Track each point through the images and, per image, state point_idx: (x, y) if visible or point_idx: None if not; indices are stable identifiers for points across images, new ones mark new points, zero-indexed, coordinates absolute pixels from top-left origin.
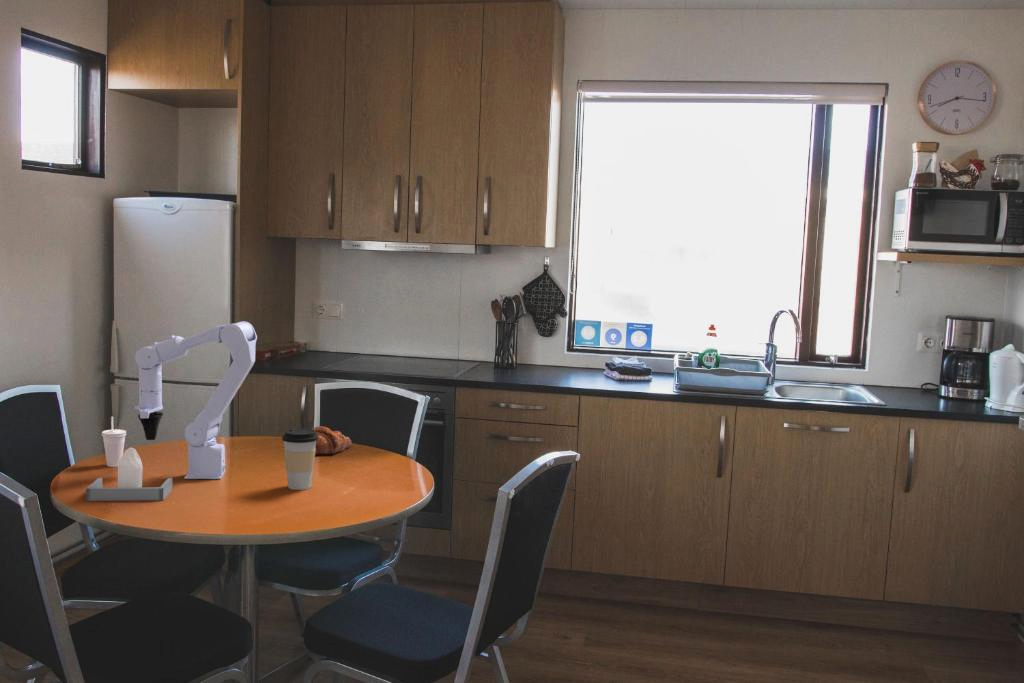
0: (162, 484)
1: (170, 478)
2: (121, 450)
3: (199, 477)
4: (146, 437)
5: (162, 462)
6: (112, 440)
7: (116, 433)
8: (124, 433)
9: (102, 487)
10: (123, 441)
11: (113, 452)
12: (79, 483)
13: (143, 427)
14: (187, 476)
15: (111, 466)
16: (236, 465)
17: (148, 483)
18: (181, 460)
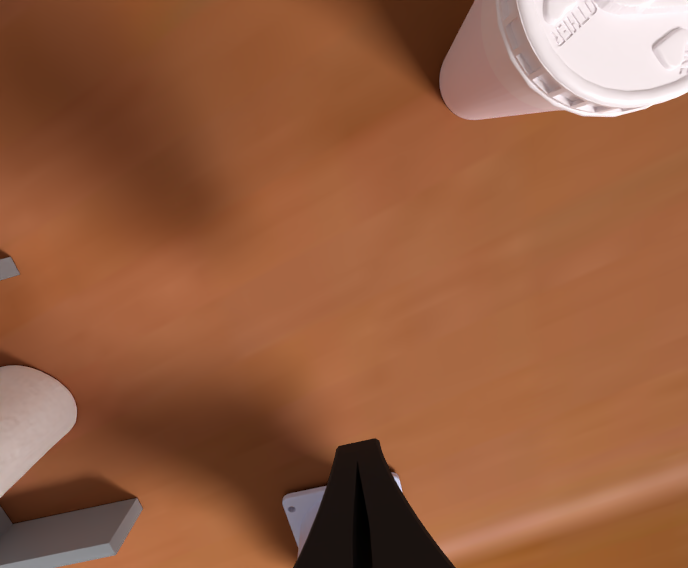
0: (9, 563)
1: (106, 552)
2: (508, 112)
3: (296, 542)
4: (333, 465)
5: (557, 295)
6: (495, 29)
7: (566, 32)
8: (608, 110)
9: (9, 277)
10: (562, 109)
11: (463, 71)
12: (69, 95)
13: (298, 557)
14: (298, 504)
15: (440, 79)
16: (522, 562)
17: (190, 400)
18: (599, 358)
